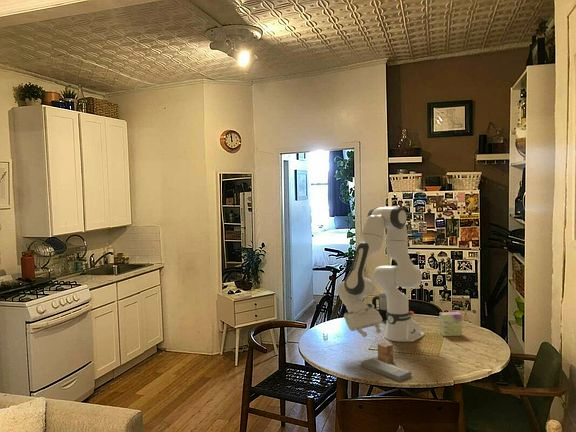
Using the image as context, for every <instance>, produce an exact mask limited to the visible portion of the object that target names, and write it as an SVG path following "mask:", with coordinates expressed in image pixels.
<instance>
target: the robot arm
mask: <svg viewBox="0 0 576 432" xmlns="http://www.w3.org/2000/svg"><path fill="white" fill-rule="evenodd" d="M366 217H367V218H366V220H365V222H364V225H363V227H362V231H361V235H360V236H361V237H360V240H359V243H358V245H357V247H356V250H355V251H354V252H355V253H354V254H353V255H354V256H353V259H352V263H351V267H350V270H349V272H348V274H347V276H346V277H345V279H344V280H343V281H341V282H340V283H339V284H338V286H337V288H336V289H337V294H338V296H339V299H340V301H342V303H343V305H344V306H345V307H346V310H347V312H345V313H344V314H343V318H344V320H345V323H346V325H347V328H348V329H349V331H350V332H355V331H356V332H357V333H359V334H360V335H361V336H362V337H363V338H366V337H367V336H368V333H367V331H364V330H363V329H366V328H370V327H371V328H372V327H374V328H375V329H376V330H375V332H376V333H377V334H380V333H382V329H381V328H380V324H382V322H383V320H382V317H381V315H380V314H379V310H376V309H374V305H373V304H372V303H367V302H363V300H364V299H366V298H368V297H369V296H371V295H372V294H373V293H374V290H375V283H376V285H378V286H379V287H380V288H381V289H382V290H383V292H384V293H385V295H386V298H387V320H385V321H386V324H385V331H384V338H385V339H386V340H388V341H392V342H407V343H408V342H410V343H411V342H414V341H416V340H419V339H420V338H422V337H424V336H425V332H423V331H421V327H420V324H419V323H418V322H416V321H415V320H414V319H413V318H412V316H414V314H415V312H414V311H412V310H410V311H409V298H408V296H407V295H406V293H403V292H401V290H399V288H398V287H401V288H402V287H404V288H413V287H418V286H419V285H420V284H421V283H422V279H423V274H422V271H421V270H420V269H419V268H418V267H417V266H416V265H415V264H414V263H413V261H412V260H411V258H410V256H409V255H410V254H409V248H408V247H409V246H408V245H409V244H408V240H409V239H408V229H407V226H406V225H407V224H406V223H407V222H408V221H407V219H408V215H407V212H406V209H404V207H400V206H381V207H373V208H371V209H369V211H368V213H367V216H366ZM385 229H386V240H385V241H386V242H385V243H386V255H387V256H388V258H390V259H392V260H394V261H395V262H396V264H397V265H387V264H386V265H380V266H378V265H377V266H376V267H375V269H374V271H373V273H372V275H373V280H374V282H375V283H374V282H373V280H372V279H370V278H368V277H366V276H364V271H365V267H366V264H367V261H368V258H369V257H370V256H371V255H373V254H376V253H378V252H379V251H381V248H382V246H383V242H384V236H385Z"/></svg>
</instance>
